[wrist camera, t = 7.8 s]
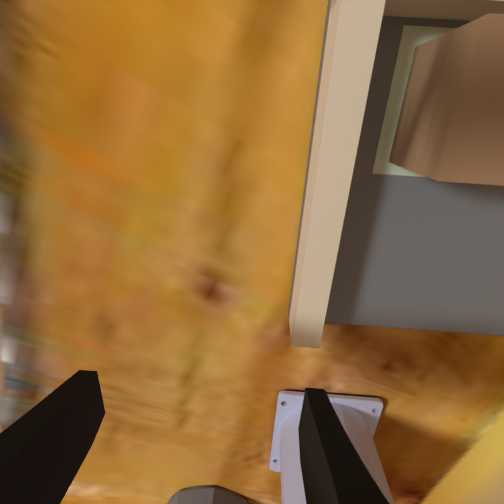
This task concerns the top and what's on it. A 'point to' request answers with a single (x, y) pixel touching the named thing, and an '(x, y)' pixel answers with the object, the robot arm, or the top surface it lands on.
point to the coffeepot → (206, 496)
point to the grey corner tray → (389, 191)
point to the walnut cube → (455, 106)
